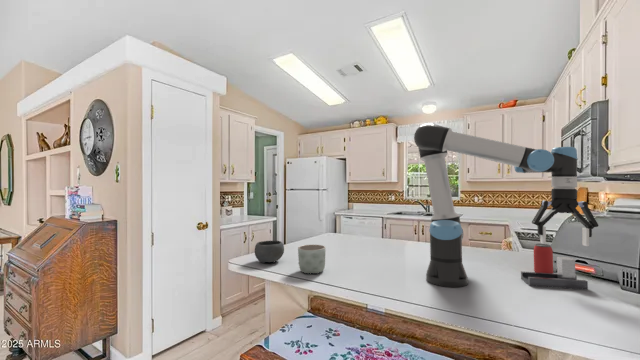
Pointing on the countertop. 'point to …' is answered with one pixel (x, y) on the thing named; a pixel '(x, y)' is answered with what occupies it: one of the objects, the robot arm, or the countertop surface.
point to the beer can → (543, 258)
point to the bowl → (269, 251)
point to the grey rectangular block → (565, 268)
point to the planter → (311, 258)
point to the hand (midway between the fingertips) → (563, 244)
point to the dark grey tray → (552, 281)
